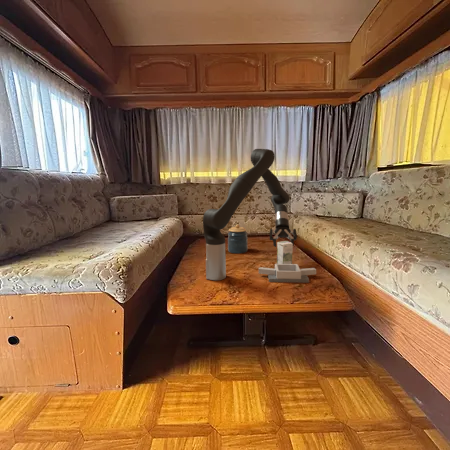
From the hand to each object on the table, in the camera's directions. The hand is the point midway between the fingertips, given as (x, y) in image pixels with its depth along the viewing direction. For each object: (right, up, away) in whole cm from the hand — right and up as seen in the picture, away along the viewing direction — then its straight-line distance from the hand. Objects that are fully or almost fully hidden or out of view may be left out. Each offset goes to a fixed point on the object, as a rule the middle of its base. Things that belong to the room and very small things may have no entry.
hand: (283, 246), depth 147 cm
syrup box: (0, -12, -1) cm, 12 cm away
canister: (-23, -6, +35) cm, 42 cm away
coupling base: (-1, -14, -13) cm, 19 cm away
